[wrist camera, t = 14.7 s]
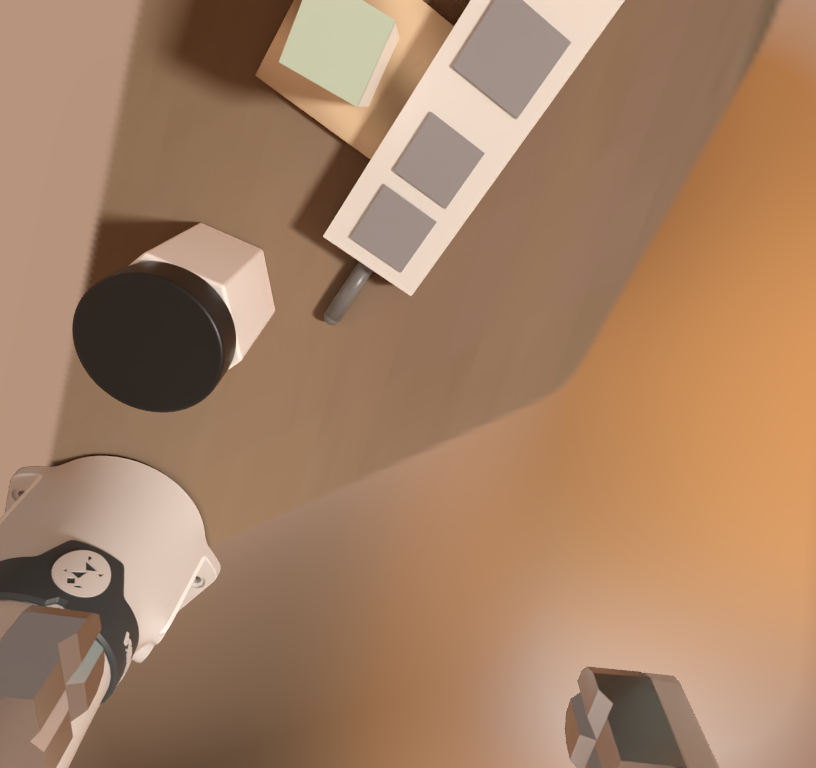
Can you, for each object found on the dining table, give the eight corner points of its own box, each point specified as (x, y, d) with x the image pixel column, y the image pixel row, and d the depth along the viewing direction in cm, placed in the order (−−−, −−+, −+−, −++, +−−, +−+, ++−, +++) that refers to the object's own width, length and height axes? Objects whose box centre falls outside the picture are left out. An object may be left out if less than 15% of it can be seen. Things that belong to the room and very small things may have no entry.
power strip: (368, 345, 44) (365, 360, 42) (287, 294, 42) (279, 305, 40) (651, -50, 34) (671, -63, 31) (558, -140, 32) (570, -161, 29)
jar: (141, 310, 43) (49, 379, 32) (170, 206, 40) (78, 243, 29) (258, 357, 45) (207, 438, 34) (294, 260, 41) (251, 315, 31)
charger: (368, 106, 37) (356, 106, 29) (306, 71, 36) (278, 62, 29) (399, 38, 35) (394, 20, 28) (335, -2, 34) (313, -30, 27)
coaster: (378, 163, 39) (377, 164, 38) (257, 75, 37) (255, 75, 36) (460, 33, 35) (461, 32, 35) (333, -72, 33) (332, -75, 33)
